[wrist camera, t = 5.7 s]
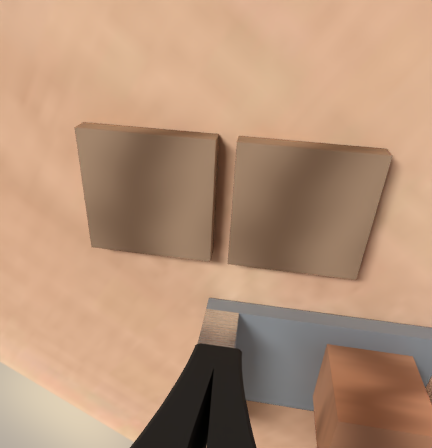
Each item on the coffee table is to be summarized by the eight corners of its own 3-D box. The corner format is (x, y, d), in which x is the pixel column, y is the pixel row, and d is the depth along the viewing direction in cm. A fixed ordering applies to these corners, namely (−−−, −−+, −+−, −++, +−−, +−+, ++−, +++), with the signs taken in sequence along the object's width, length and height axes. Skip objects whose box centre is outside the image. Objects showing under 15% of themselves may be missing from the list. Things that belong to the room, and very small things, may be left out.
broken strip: (386, 148, 18) (392, 155, 17) (352, 269, 21) (356, 280, 20) (83, 122, 19) (74, 127, 18) (98, 238, 23) (91, 247, 22)
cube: (412, 356, 22) (445, 438, 18) (389, 408, 25) (412, 492, 20) (327, 344, 23) (338, 421, 18) (312, 396, 25) (319, 475, 21)
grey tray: (441, 329, 22) (476, 396, 18) (402, 412, 26) (423, 482, 22) (209, 297, 24) (195, 353, 20) (205, 381, 28) (192, 441, 24)
